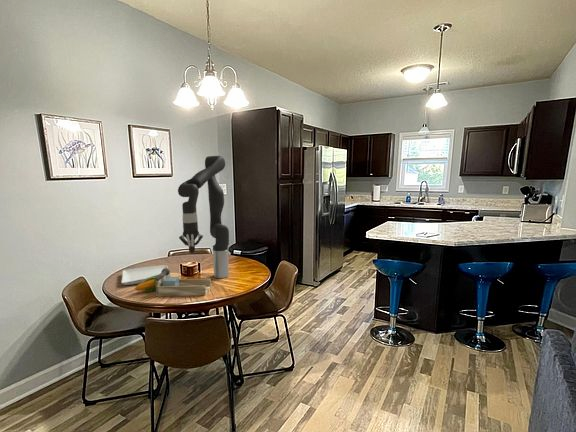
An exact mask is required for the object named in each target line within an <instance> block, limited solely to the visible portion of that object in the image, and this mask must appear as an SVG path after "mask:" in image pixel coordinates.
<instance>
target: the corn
mask: <svg viewBox="0 0 576 432" xmlns="http://www.w3.org/2000/svg"><path fill="white" fill-rule="evenodd" d="M156 276H158V275H155V276H152V277H149V278H146V279H144V280H146V281H144V282H142V283H139V284H136V286H135V288H134V290H135V291H138V292H140V291H143V293H148V292H152V291H156V283H155V281H156V280H155V278H153V277H156ZM150 278H152V279H150ZM147 279H149V280H147Z"/></svg>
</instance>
